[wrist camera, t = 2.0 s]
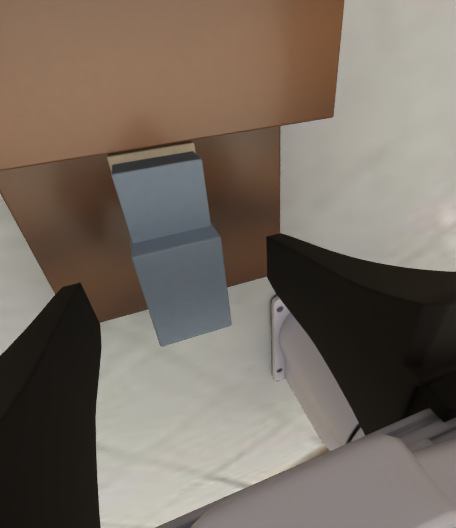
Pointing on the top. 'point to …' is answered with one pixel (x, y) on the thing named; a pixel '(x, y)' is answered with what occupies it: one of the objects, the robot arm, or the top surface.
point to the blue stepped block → (172, 239)
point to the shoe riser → (153, 121)
